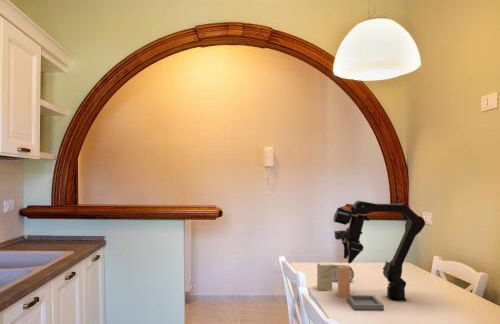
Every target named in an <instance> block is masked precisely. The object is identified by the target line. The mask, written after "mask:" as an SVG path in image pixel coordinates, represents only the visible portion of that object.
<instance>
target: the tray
mask: <svg viewBox="0 0 500 324" xmlns="http://www.w3.org/2000/svg"><path fill="white" fill-rule="evenodd" d="M346 301H347V302H348V303H350V304H349V305H350V306H351V308H352V307H353V308H352V309H353V310H354V311H371V312H373V311H374V312H375V311H376V312H377V311H378V312H379V311H380V312H381V311H383V312H384V310H385V305H384V303H382V302H381V301H380V300H379V298H377V297H376V296H375V294H374V295H372V294H371V295H369V294H367V295H366V294H363V295H362V294H350V295H347V298H346Z"/></svg>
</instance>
